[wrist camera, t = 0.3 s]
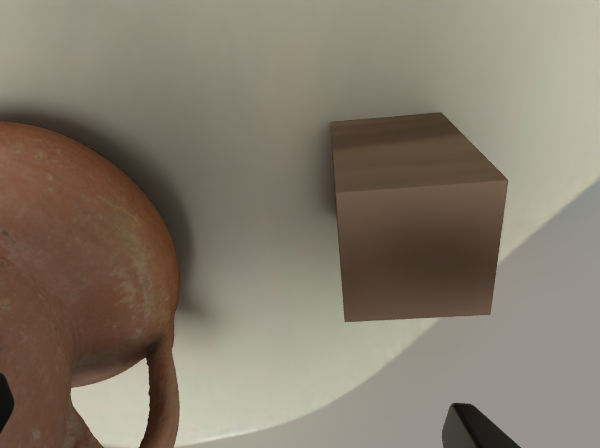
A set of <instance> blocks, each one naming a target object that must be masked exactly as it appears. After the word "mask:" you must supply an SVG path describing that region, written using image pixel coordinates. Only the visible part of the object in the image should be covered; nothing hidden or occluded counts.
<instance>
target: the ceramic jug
mask: <svg viewBox="0 0 600 448" xmlns="http://www.w3.org/2000/svg"><path fill="white" fill-rule="evenodd" d="M179 288H180V275H179V265H178V259H177V254H176V250H175V247H174V244H173V241H172V238H171V236H170V233H169V231H168V229H167V227H166V225H165V223H164V221H163V219H162V218H161V216H160V214H159V213H158V211H157V209H156V208H155V207H154V205H153V204H152V203H151V201H150V200H149V199H148V197H147V196H146V195H145V194H144V193H143V191H142V190H141V189H140V188H139V187H138V186H137V185H136V184H135V183H134V182H133V181H132V180H131V179H130V178H129V177H128V176H127V175H126V174H125V173H124V172H122V171H121V170H120V169H119V168H117V167H116V166H115V165H114V164H113V163H111V162H110V161H108V160H107V159H106V158H105V157H103V156H102V155H100V154H98V153H97V152H95V151H94V150H92V149H90V148H88V147H87V146H85V145H83V144H81V143H79V142H77V141H75V140H73V139H71V138H69V137H67V136H64V135H62V134H59V133H57V132H54V131H51V130H48V129H45V128H42V127H38V126H33V125H29V124H22V123H16V122H6V121H0V373H3V374H4V375H5V376H6V379H7V381H8V384H9V386H10V389H11V392H12V394H13V397H14V409H13V412H12V414H11V416H10V418H9V420H8V422H7V423H6V425H5V427H4V429H3V430H2V432H1V434H0V448H104V447H103V446H102V445H101V444H100V443H99V442H98V440H97V439H96V438H95V437H94V436H93V434H92V433H91V432H90V430H89V428H88V426H87V425H86V424H85V422H84V420H83V419H82V417H81V416H80V415H79V414H78V412H77V411H76V410H75V408H74V407H73V405H72V401H71V396H70V393H71V388H73V387H80V386H85V385H89V384H94V383H97V382H100V381H103V380H106V379H109V378H111V377H114V376H116V375H118V374H120V373H122V372H124V371H126V370H127V369H129V368H130V367H132V366H134V365H135V364H137V363H138V362H139V361H140V360H142V359H144V358H146V359H147V365H148V366H149V386H150V389H149V396H150V404H149V407H150V411H149V418H148V424H147V428H146V432H145V435H144V438H143V439H142V441H141V444H140V447H139V448H173V447H174V444H175V440H176V436H177V431H178V424H179V408H180V405H179V391H178V384H177V377H176V371H175V366H174V361H173V357H172V348H173V342H174V314H175V310H176V307H177V303H178V297H179Z"/></svg>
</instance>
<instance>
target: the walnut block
mask: <svg viewBox="0 0 600 448" xmlns="http://www.w3.org/2000/svg"><path fill="white" fill-rule="evenodd" d="M330 124H331V139H332V154H333V169H334V185H335V200H336V215H337V228H338V241H339V254H340V267H341V280H342V293H343V305H344V318H345V322H354V321H374V320H394V319H414V318H433V317H453V316H473V315H490V313H491V306H492V298H493V290H494V283H495V276H496V268H497V261H498V253H499V245H500V238H501V230H502V223H503V215H504V208H505V200H506V193H507V185H508V179H507V178H506V177H505V176H504V175H503V174H502V173H501V172H500V171H499V170H498V169H497V168H496V167H495V166H494V165H493V164H492V163H491V162H490V161H489V160H488V159H487V158H486V157H485V156H484V155H483V154H482V153H481V152H480V151H479V150H478V149H477V148H476V147H475V146H474V145H473V144H472V143H471V142H470V141H469V140H468V139H467V138H466V137H465V136H464V135H463V134H462V133H461V132H460V131H459V130H458V129H457V128H456V127H455V126H454V125H453V124H452V123H451V122H450V121H449V120H448V119H447V118H446V117H445V116H444V115H443V114H442V113H429V114H418V115H406V116H395V117H383V118H371V119H360V120H348V121H336V122H330Z"/></svg>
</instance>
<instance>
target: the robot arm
mask: <svg viewBox="0 0 600 448" xmlns="http://www.w3.org/2000/svg"><path fill="white" fill-rule="evenodd" d="M13 409H14V397H13V394H12V392H11V389H10V386H9V384H8V381H7V379H6V376H5V375H4V374H3V373H0V434H1V432H2V430H3V429H4V427H5V425H6V423H7V422H8V420H9V418H10V416H11V414H12V412H13ZM442 441H443V447H444V448H521V447H520V446H518V445H517V444H516V443H515V442H514V441H513V440H512V439H511V438H509V437H508V436H507V435H506V434H505V433H504V432H503V431H502V430H500V429H499V428H498V427H497V426H496V425H495V424H494V423H493V422H492V421H490V420H489V419H488V418H487V417H486V416H485V415H484V414H483V413H482V412H480V411H479V410H478V409H477V408H476V407H475V406H473V405H471V404H465V403H453V404H451V406H450V408H449V411H448V414H447V417H446V420H445V423H444V426H443V430H442Z"/></svg>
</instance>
